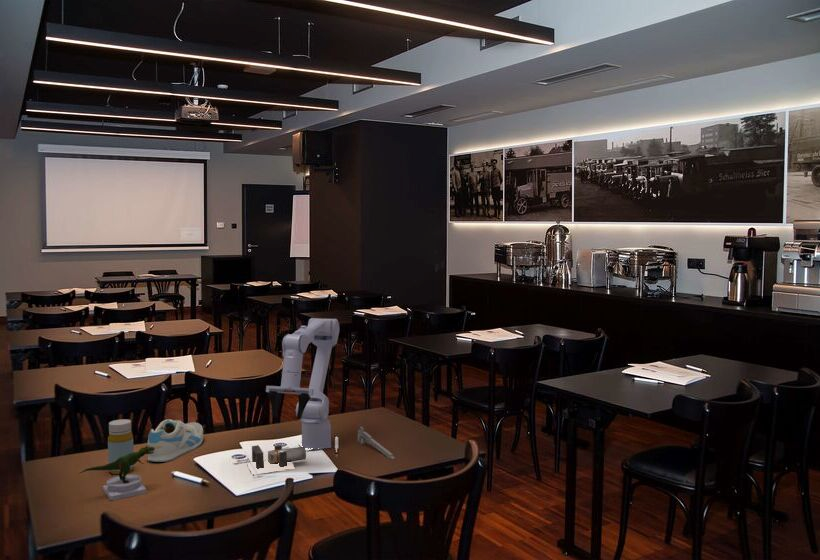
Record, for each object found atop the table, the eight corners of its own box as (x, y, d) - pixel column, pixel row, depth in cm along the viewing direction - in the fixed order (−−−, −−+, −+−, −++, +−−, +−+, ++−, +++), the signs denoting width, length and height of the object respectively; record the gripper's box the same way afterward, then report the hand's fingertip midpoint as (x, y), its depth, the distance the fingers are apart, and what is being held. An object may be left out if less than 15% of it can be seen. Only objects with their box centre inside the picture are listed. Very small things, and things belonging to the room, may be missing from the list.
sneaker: (212, 438, 236) (211, 408, 235) (171, 465, 209) (170, 431, 209) (184, 437, 237) (184, 406, 237) (141, 463, 211) (140, 429, 210)
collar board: (288, 459, 214) (288, 440, 213) (295, 469, 206) (295, 449, 205) (246, 465, 209) (246, 446, 208) (252, 475, 201) (252, 455, 200)
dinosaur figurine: (160, 490, 189) (159, 449, 189) (82, 507, 178) (80, 464, 177) (151, 480, 197) (149, 441, 196) (75, 496, 185) (74, 454, 184)
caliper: (357, 443, 231) (357, 425, 230) (360, 443, 231) (360, 425, 231) (392, 460, 215) (392, 441, 214) (395, 459, 215) (395, 440, 215)
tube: (302, 457, 213) (302, 444, 213) (306, 461, 209) (306, 448, 209) (267, 462, 209) (267, 449, 208) (270, 466, 205) (270, 453, 205)
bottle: (139, 468, 206) (137, 420, 205) (122, 476, 200) (120, 426, 199) (120, 465, 209) (119, 417, 207) (103, 473, 202) (101, 424, 201)
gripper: (264, 370, 205) (259, 415, 203) (311, 373, 203) (306, 419, 201) (272, 372, 212) (267, 416, 209) (317, 375, 210) (312, 419, 207)
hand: (286, 417), depth 205 cm, fingers open, 7 cm apart
